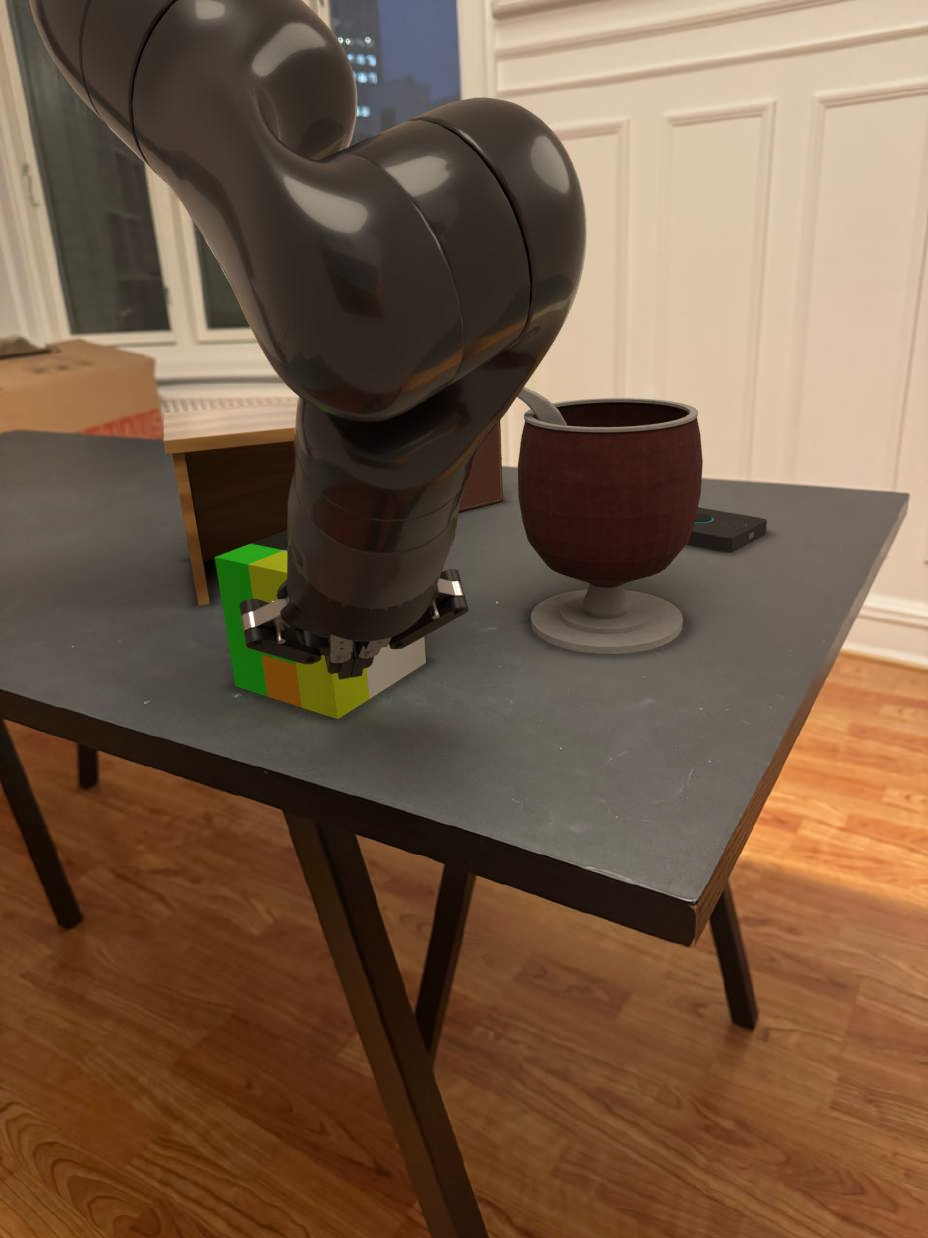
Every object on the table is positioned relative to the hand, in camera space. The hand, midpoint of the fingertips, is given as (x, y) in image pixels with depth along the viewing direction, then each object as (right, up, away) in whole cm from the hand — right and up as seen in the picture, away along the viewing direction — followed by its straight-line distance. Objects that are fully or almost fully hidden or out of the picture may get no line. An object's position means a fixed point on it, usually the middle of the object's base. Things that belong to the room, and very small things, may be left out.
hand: (346, 664), depth 57 cm
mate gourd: (+18, +2, +16) cm, 25 cm away
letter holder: (+2, +16, +50) cm, 53 cm away
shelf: (-10, +8, +33) cm, 35 cm away
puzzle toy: (-2, -2, +10) cm, 10 cm away
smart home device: (+29, +13, +40) cm, 51 cm away
